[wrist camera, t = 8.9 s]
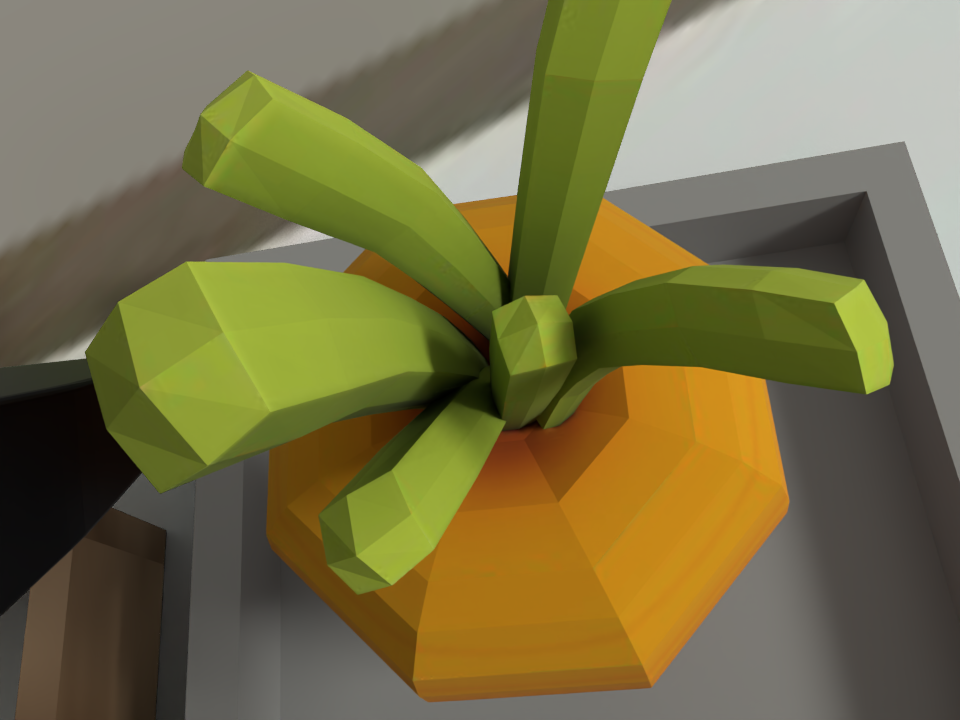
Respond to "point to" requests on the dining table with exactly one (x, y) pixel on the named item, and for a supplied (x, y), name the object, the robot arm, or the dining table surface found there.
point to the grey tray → (776, 565)
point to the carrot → (485, 384)
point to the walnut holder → (96, 627)
